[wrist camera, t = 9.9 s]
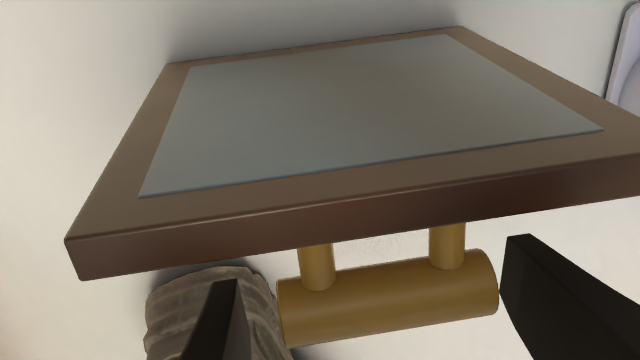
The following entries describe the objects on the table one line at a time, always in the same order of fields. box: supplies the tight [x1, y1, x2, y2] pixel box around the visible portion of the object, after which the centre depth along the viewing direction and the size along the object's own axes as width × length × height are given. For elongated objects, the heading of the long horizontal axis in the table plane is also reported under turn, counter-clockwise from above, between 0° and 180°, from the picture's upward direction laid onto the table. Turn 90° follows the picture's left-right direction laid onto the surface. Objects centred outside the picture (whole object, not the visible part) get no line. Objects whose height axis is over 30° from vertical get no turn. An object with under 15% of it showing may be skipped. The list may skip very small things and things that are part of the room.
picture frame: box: [64, 26, 640, 349], centre depth 16 cm, size 12×12×4 cm
